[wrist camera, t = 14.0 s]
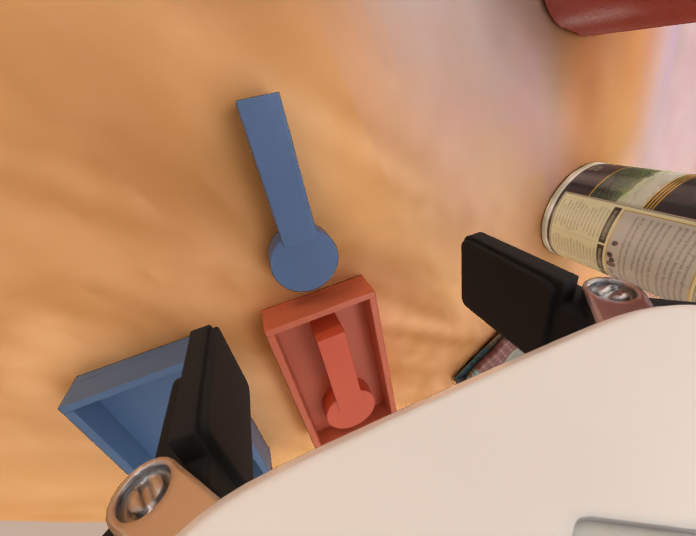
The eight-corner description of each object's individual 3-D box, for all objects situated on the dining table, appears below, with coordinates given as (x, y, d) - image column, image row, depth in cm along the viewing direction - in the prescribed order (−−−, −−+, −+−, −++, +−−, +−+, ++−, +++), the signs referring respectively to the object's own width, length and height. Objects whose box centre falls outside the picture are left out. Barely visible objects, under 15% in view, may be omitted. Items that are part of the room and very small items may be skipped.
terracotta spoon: (293, 327, 26) (300, 349, 24) (349, 306, 27) (361, 325, 25) (328, 421, 33) (336, 446, 30) (371, 401, 34) (383, 424, 31)
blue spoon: (211, 108, 18) (208, 106, 16) (294, 90, 19) (303, 86, 17) (279, 290, 25) (284, 309, 23) (337, 269, 26) (349, 286, 24)
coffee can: (589, 141, 29) (835, 156, 17) (628, 190, 34) (840, 228, 22) (523, 233, 32) (700, 302, 20) (568, 267, 37) (732, 339, 25)
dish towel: (522, 423, 50) (535, 437, 48) (449, 378, 38) (462, 394, 36) (599, 349, 48) (617, 359, 46) (548, 276, 36) (568, 286, 34)
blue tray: (76, 376, 23) (56, 408, 20) (202, 331, 24) (199, 356, 22) (182, 489, 31) (178, 522, 29) (270, 449, 33) (273, 477, 30)
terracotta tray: (260, 310, 25) (264, 332, 23) (361, 274, 27) (375, 290, 25) (312, 430, 34) (318, 456, 31) (386, 397, 36) (398, 418, 33)
